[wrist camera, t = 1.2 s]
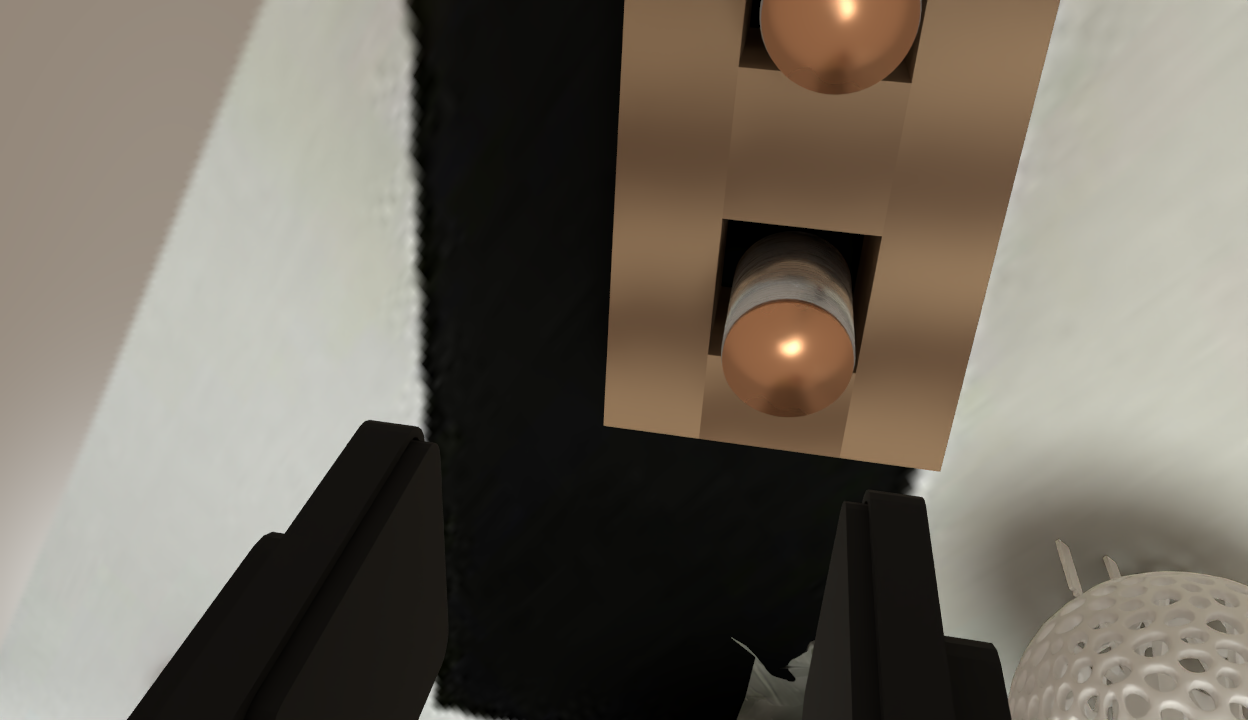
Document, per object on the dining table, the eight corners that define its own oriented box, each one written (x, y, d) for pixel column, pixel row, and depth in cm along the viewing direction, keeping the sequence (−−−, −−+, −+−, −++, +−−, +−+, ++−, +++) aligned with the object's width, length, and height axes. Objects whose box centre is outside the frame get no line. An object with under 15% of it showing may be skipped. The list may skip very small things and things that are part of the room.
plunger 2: (739, 224, 31) (727, 294, 27) (860, 238, 31) (866, 311, 27) (727, 329, 33) (714, 409, 29) (841, 343, 33) (844, 426, 28)
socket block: (665, -272, 29) (638, -278, 24) (1077, -248, 27) (1123, -251, 23) (628, 352, 39) (603, 425, 34) (926, 391, 37) (939, 471, 33)
